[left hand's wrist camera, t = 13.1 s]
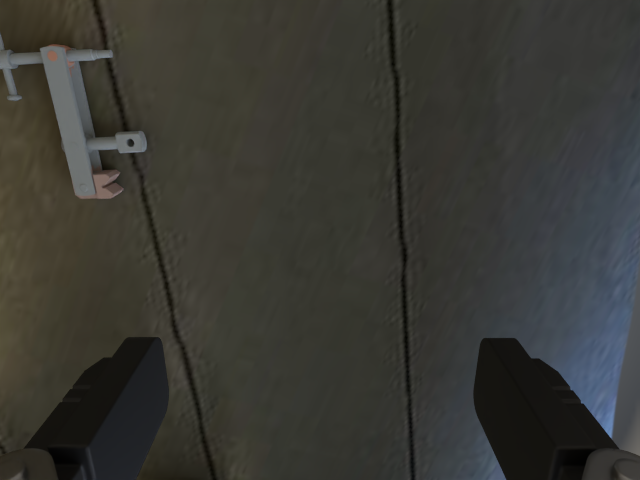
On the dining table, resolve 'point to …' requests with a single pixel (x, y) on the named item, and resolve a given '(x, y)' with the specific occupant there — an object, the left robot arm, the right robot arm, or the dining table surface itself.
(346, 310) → the dining table surface
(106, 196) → the clamp
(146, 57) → the dining table surface
